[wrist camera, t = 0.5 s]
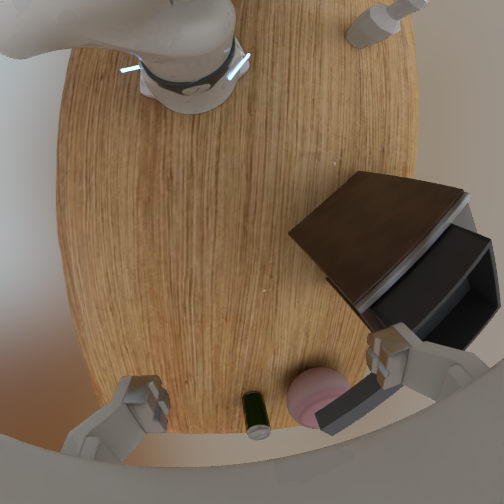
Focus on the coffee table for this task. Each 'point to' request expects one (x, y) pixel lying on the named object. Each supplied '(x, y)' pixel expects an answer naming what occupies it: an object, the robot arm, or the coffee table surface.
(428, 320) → the basket
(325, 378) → the pink rounded ball
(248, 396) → the beer can
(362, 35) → the faceted bottle
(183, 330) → the coffee table surface
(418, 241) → the stand
